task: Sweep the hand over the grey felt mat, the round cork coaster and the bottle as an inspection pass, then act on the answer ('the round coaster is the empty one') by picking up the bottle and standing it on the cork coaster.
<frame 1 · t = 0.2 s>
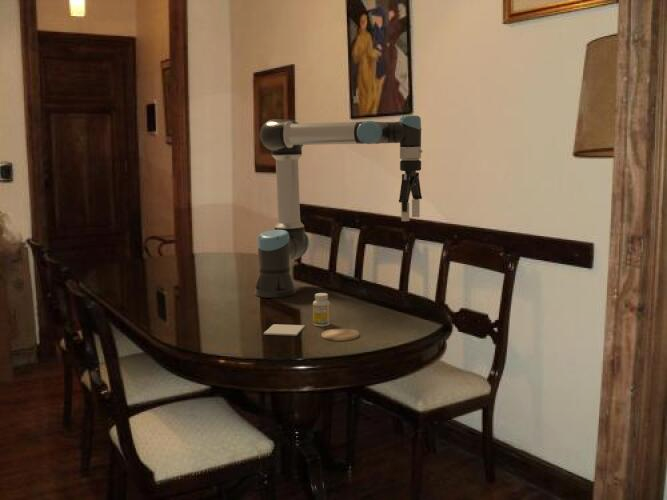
hand: (410, 219, 250), 28 cm above the table, fingers open, 13 cm apart
felt mat: (284, 330, 208), on the table
supplement bottle: (321, 325, 215), on the table
cork coaster: (340, 335, 202), on the table
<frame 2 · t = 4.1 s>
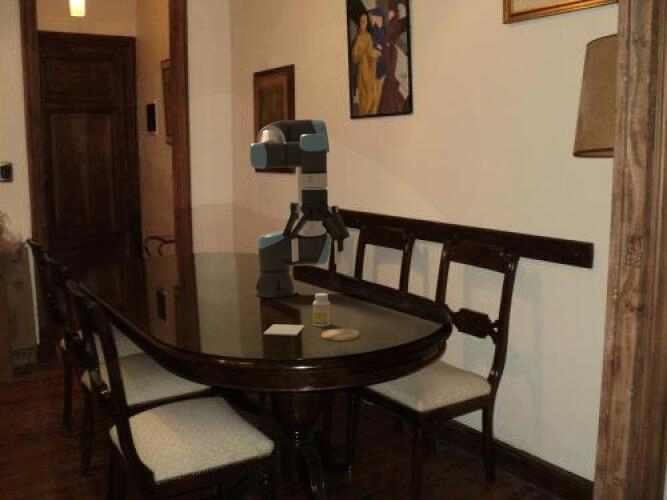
hand: (316, 262, 200), 22 cm above the table, fingers open, 13 cm apart
nothing on the table moved.
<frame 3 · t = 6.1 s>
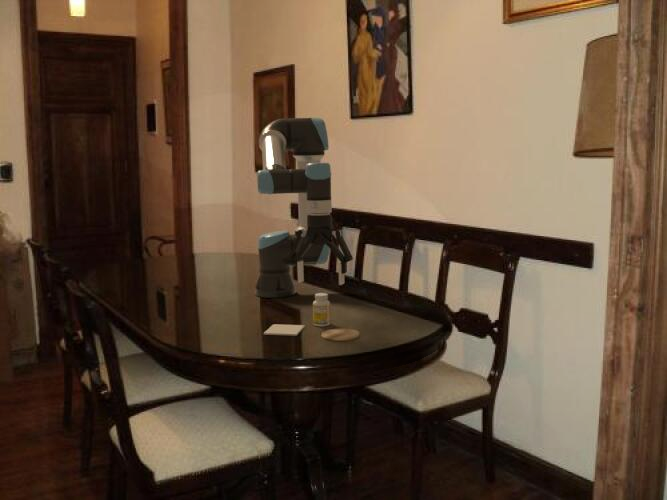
hand: (321, 283, 212), 13 cm above the table, fingers open, 13 cm apart
nothing on the table moved.
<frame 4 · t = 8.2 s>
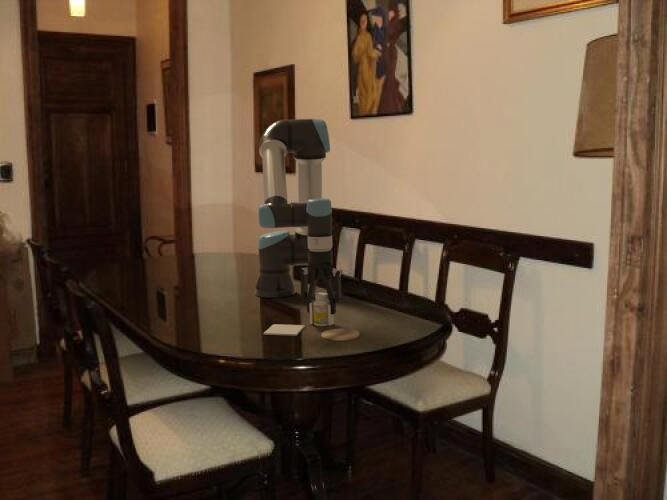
hand: (321, 323, 215), 0 cm above the table, fingers closed on supplement bottle, 5 cm apart
supplement bottle: (322, 324, 215), on the table, touching gripper
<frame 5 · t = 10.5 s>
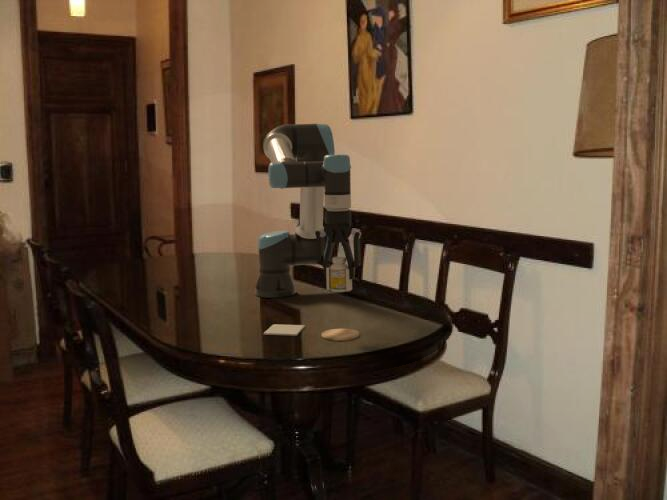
hand: (339, 289, 200), 14 cm above the table, fingers closed on supplement bottle, 5 cm apart
supplement bottle: (339, 291, 200), point 13 cm above the table, touching gripper
when the fingers open (2 cm above the table, at t = 12.8 s): supplement bottle stays where it is, resting on cork coaster.
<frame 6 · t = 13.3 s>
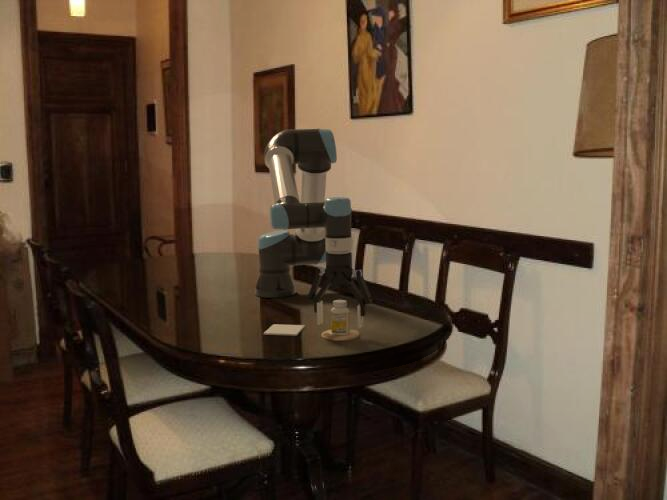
hand: (340, 325, 201), 3 cm above the table, fingers open, 12 cm apart
supplement bottle: (340, 333, 202), resting on cork coaster
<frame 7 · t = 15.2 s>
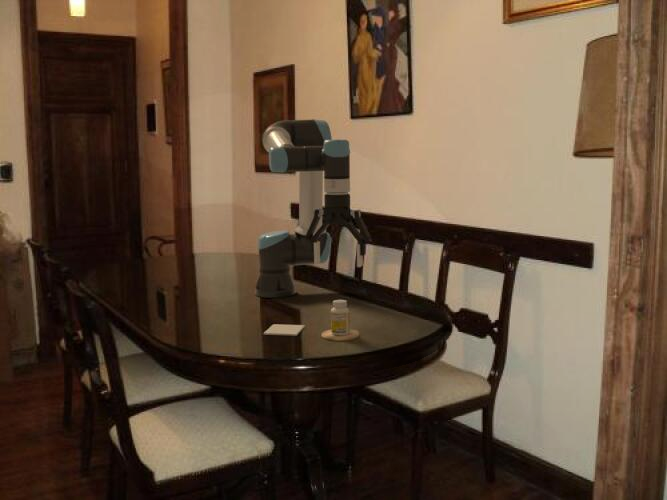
hand: (338, 265, 205), 20 cm above the table, fingers open, 13 cm apart
nothing on the table moved.
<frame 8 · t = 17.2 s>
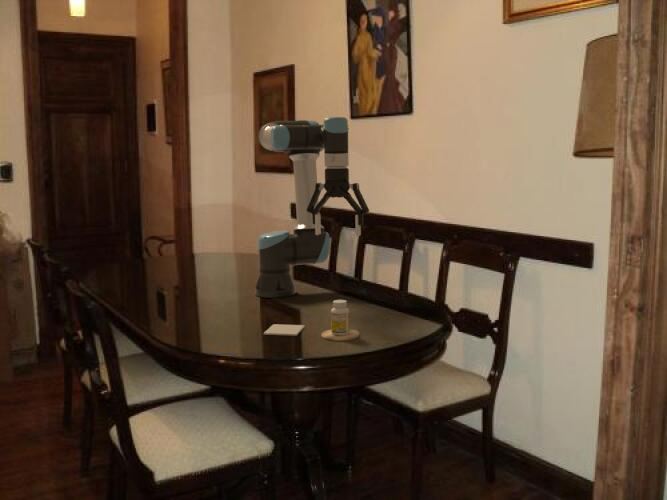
hand: (337, 235, 219), 27 cm above the table, fingers open, 13 cm apart
nothing on the table moved.
at the end: supplement bottle 0.3 cm from the cork coaster (horizontally); supplement bottle tilted 0°; the gripper is holding nothing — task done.
